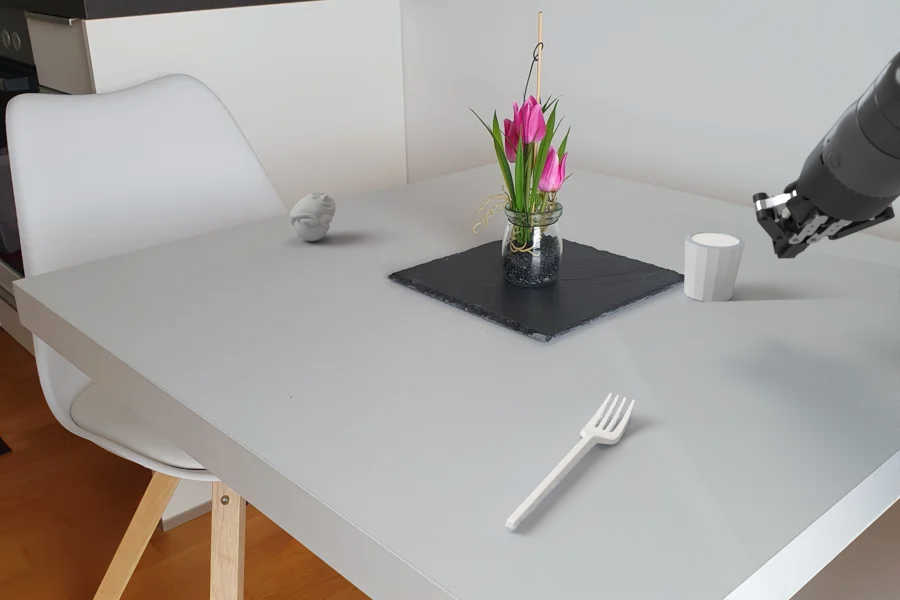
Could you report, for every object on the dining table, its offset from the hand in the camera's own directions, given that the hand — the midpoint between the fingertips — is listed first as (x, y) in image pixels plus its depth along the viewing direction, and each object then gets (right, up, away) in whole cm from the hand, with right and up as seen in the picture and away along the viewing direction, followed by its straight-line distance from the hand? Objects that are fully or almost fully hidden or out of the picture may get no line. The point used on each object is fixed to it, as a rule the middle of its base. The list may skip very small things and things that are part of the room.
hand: (782, 249), depth 82 cm
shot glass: (-1, -4, +20) cm, 20 cm away
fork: (-23, -19, -15) cm, 33 cm away
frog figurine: (-52, +4, +39) cm, 65 cm away
